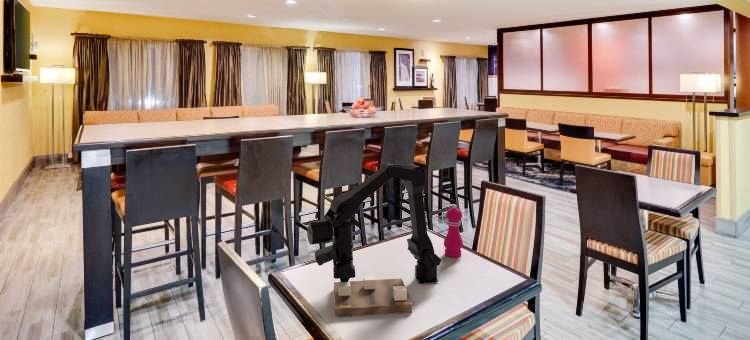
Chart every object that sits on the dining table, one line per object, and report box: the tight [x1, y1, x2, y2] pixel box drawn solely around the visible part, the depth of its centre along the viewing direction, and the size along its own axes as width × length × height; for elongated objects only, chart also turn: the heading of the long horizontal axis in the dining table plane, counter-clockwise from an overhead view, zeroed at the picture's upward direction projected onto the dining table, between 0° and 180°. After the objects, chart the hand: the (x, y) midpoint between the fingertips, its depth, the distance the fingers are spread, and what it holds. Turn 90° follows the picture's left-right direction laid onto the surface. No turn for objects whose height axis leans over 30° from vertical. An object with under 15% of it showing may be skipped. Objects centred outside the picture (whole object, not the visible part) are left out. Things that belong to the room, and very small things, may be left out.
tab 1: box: [337, 281, 351, 296], centre depth 131 cm, size 4×3×3 cm
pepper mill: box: [443, 203, 464, 259], centre depth 166 cm, size 7×7×20 cm
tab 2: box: [363, 275, 377, 289], centre depth 135 cm, size 4×3×3 cm
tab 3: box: [393, 285, 408, 301], centre depth 128 cm, size 4×3×3 cm
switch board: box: [333, 278, 413, 318], centre depth 133 cm, size 22×17×3 cm
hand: (343, 287), depth 134 cm, fingers closed
